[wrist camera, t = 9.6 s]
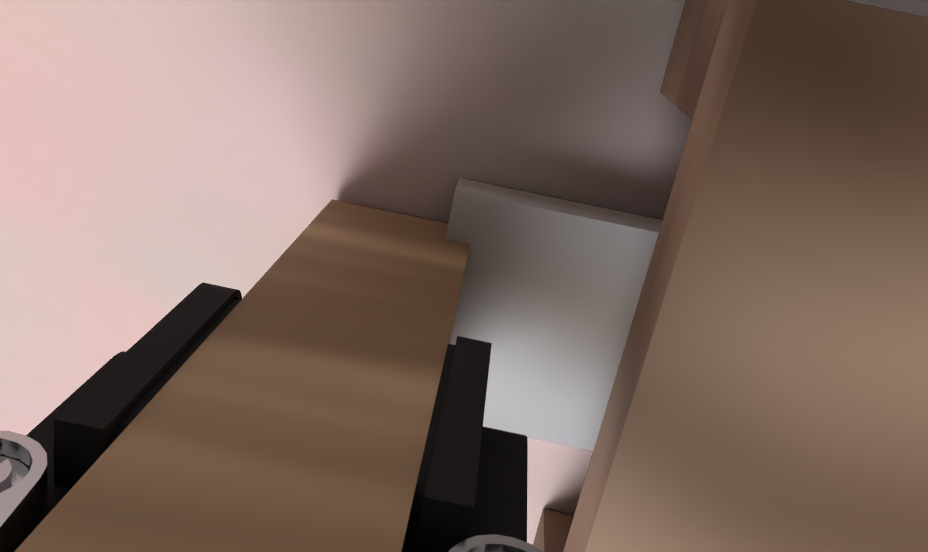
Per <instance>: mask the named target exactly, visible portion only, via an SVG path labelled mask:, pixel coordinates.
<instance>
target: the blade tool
mask: <svg viewBox="0 0 928 552" xmlns="http://www.w3.org/2000/svg"><path fill="white" fill-rule="evenodd" d="M661 223H662V220H660V219H655V218H650V217H645V216H640V215H636V214H631V213H626V212H621V211H616V210H612V209H607V208H602V207H597V206H592V205H588V204H583V203H578V202H573V201H568V200H564V199H559V198H554V197H549V196H544V195H540V194H535V193H530V192H525V191H520V190H516V189H511V188H506V187H501V186H496V185H491V184H487V183H482V182H477V181H472V180H467V179H463V178H459V180H458V182H457V185H456V188H455V191H454V196H453V202H452V207H451V212H450V217H449V222H448V224H447V223H443V222H438V221H433V220H428V219H423V218H419V217H414V216H409V215H404V214H399V213H395V212H390V211H385V210H380V209H376V208H371V207H366V206H361V205H356V204H352V203H347V202H342V201H337V200H331V201H330V202H329V203H328V205H327V206H326V207H325V208H324V209H323V210H322V211H321V212H320V213H319V214H318V216H317V217H316V218H315V219H314V220H313V221H312V222H311V223H310V224H309V226H308V227H307V228H306V229H305V230H304V231H303V232H302V233H301V234H300V236H299V237H298V238H297V239H296V240H295V241H294V242H293V243H292V244H291V246H290V247H289V248H288V249H287V250H286V251H285V252H284V253H283V254H282V256H281V257H280V258H279V259H278V260H277V261H276V262H275V263H274V264H273V265H272V267H271V268H270V269H269V270H268V271H267V272H266V273H265V274H264V275H263V277H262V278H261V279H260V280H259V281H258V282H257V283H256V284H255V285H254V287H253V288H252V289H251V290H250V291H249V292H248V293H247V294H246V295H245V297H244V298H243V299H242V300H241V301H240V302H239V303H238V304H237V305H236V307H235V308H234V309H233V310H232V311H231V312H230V313H229V314H228V315H227V317H226V318H225V319H224V320H223V321H222V322H221V323H220V324H219V325H218V326H217V328H216V329H215V330H214V331H213V332H212V333H211V334H210V335H209V336H208V338H207V339H206V340H205V341H204V342H203V343H202V344H201V345H200V346H199V348H198V349H197V350H196V351H195V352H194V353H193V354H192V355H191V356H190V358H189V359H188V360H187V361H186V362H185V363H184V364H183V365H182V366H181V368H180V369H179V370H178V371H177V372H176V373H175V374H174V375H173V376H172V377H171V379H170V380H169V381H168V382H167V383H166V384H165V385H164V386H163V387H162V389H161V390H160V391H159V392H158V393H157V394H156V395H155V396H154V397H153V399H152V400H151V401H150V402H149V403H148V404H147V405H146V406H145V407H144V409H143V410H142V411H141V412H140V413H139V414H138V415H137V416H136V417H135V419H134V420H133V421H132V422H131V423H130V424H129V425H128V426H127V427H126V429H125V430H124V431H123V432H122V433H121V434H120V435H119V436H118V437H117V438H116V440H115V441H114V442H113V443H112V444H111V445H110V446H109V447H108V448H107V450H106V451H105V452H104V453H103V454H102V455H101V456H100V457H99V458H98V460H97V461H96V462H95V463H94V464H93V465H92V466H91V467H90V468H89V470H88V471H87V472H86V473H85V474H84V475H83V476H82V477H81V478H80V480H79V481H78V482H77V483H76V484H75V485H74V486H73V487H72V488H71V489H70V491H69V492H68V493H67V494H66V495H65V496H64V497H63V498H62V499H61V501H60V502H59V503H58V504H57V505H56V506H55V507H54V508H53V509H52V511H51V512H50V513H49V514H48V515H47V516H46V517H45V518H44V519H43V521H42V522H41V523H40V524H39V525H38V526H37V527H36V528H35V529H34V531H33V532H32V533H31V534H30V535H29V536H28V537H27V538H26V539H25V541H24V542H23V543H22V544H21V545H20V546H19V547H18V548H17V549H16V550H15V552H402V550H403V545H404V540H405V535H406V531H407V526H408V521H409V516H410V511H411V506H412V502H413V497H414V492H415V488H416V483H417V479H418V474H419V470H420V465H421V461H422V456H423V452H424V448H425V443H426V439H427V434H428V430H429V425H430V421H431V417H432V412H433V408H434V403H435V399H436V394H437V390H438V386H439V381H440V377H441V372H442V368H443V363H444V359H445V354H446V350H447V346H448V344H453V345H455V344H456V339H457V336H460V337H465V338H470V339H475V340H480V341H484V342H489V343H492V346H491V355H490V364H489V373H488V382H487V392H486V401H485V410H484V419H483V427H488V428H493V429H498V430H502V431H507V432H512V433H517V434H521V435H526V436H527V437H529V438H533V439H538V440H543V441H548V442H552V443H557V444H562V445H567V446H571V447H576V448H581V449H586V450H590V451H594V447H595V444H596V441H597V437H598V434H599V431H600V427H601V424H602V421H603V417H604V414H605V411H606V407H607V404H608V400H609V397H610V394H611V390H612V387H613V384H614V380H615V377H616V374H617V370H618V367H619V364H620V360H621V357H622V354H623V350H624V347H625V344H626V340H627V337H628V334H629V330H630V327H631V324H632V320H633V317H634V314H635V310H636V307H637V304H638V300H639V297H640V294H641V290H642V287H643V284H644V280H645V277H646V274H647V270H648V267H649V264H650V260H651V257H652V254H653V250H654V247H655V244H656V240H657V237H658V233H659V230H660V227H661Z"/></svg>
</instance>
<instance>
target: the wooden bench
mask: <svg viewBox="0 0 928 552" xmlns="http://www.w3.org/2000/svg"><path fill="white" fill-rule="evenodd" d="M660 92H661V93H662V94H663V95H664V96H666V97H667V98H668V99H669V100H670V101H672V102H673V103H674V104H675V105H676V106H678V107H679V108H680V109H681V110H682V111H683V112H685V113H686V114H687V115H688V116H689V117H691V118H692V119H693V120H692V123H691V127H690V130H689V133H688V137H687V140H686V143H685V147H684V150H683V153H682V157H681V160H680V163H679V167H678V170H677V173H676V177H675V180H674V183H673V187H672V190H671V193H670V197H669V200H668V203H667V207H666V210H665V213H664V217H663V220H662V223H661V227H660V230H659V233H658V237H657V240H656V244H655V247H654V250H653V254H652V257H651V260H650V264H649V267H648V270H647V274H646V277H645V280H644V284H643V287H642V290H641V294H640V297H639V300H638V304H637V307H636V310H635V314H634V317H633V320H632V324H631V327H630V330H629V334H628V337H627V340H626V344H625V347H624V350H623V354H622V357H621V360H620V364H619V367H618V370H617V374H616V377H615V380H614V384H613V387H612V390H611V394H610V397H609V400H608V404H607V407H606V411H605V414H604V417H603V421H602V424H601V427H600V431H599V434H598V437H597V441H596V444H595V447H594V451H593V454H592V457H591V461H590V464H589V467H588V471H587V474H586V477H585V481H584V484H583V487H582V491H581V494H580V497H579V501H578V504H577V507H576V511H575V514H574V515H570V514H565V513H561V512H556V511H551V510H546V509H543V512H542V515H541V519H540V522H539V526H538V529H537V533H536V537H535V540H534V544H533V546H535V547H536V548H538V549H539V550H541V551H543V552H928V18H927V17H923V16H918V15H913V14H908V13H903V12H898V11H893V10H889V9H884V8H879V7H874V6H869V5H864V4H860V3H855V2H850V1H845V0H686V2H685V5H684V9H683V12H682V16H681V19H680V23H679V27H678V30H677V34H676V37H675V41H674V44H673V48H672V52H671V55H670V59H669V62H668V66H667V69H666V73H665V76H664V80H663V84H662V87H661V91H660Z"/></svg>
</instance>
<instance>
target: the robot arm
mask: <svg viewBox="0 0 928 552" xmlns="http://www.w3.org/2000/svg"><path fill="white" fill-rule="evenodd" d="M241 300H242V296H241V292H240V290H236V289H231V288H226V287H221V286H217V285H212V284H207V283H201V284H200V285H199V286H197V287H196V288H195V289H194V290H193V291H192V292H191V293H190V294H189V295H188V296H187V297H186V298H184V299H183V300H182V301H181V302H180V303H179V304H178V305H177V306H176V307H175V308H174V309H173V310H171V311H170V312H169V313H168V314H167V315H166V316H165V317H164V318H163V319H162V320H161V321H159V322H158V323H157V324H156V325H155V326H154V327H153V328H152V329H151V330H150V331H149V332H148V333H146V334H145V335H144V336H143V337H142V338H141V339H140V340H139V341H138V342H137V343H136V344H134V345H133V346H132V347H131V348H130V349H129V350H128V351H127V352H120V353H118V354H117V355H115V356H114V357H113V358H112V359H110V360H109V361H108V362H107V363H106V364H105V365H104V366H103V367H102V368H101V369H99V370H98V371H97V372H96V373H95V374H94V375H93V376H92V377H91V378H89V379H88V380H87V381H86V382H85V383H84V384H83V385H82V386H81V387H79V388H78V389H77V390H76V391H75V392H74V393H73V394H72V395H71V396H70V397H68V398H67V399H66V400H65V401H64V402H63V403H62V404H61V405H60V406H58V407H57V408H56V409H55V410H54V411H53V412H52V413H51V414H50V415H48V416H47V417H46V418H45V419H44V420H43V421H42V422H41V423H40V424H39V425H37V426H36V427H35V428H34V429H33V430H32V431H31V432H30V433H29V434H27V435H22V434H18V433H14V432H10V431H0V552H15V550H16V549H17V548H18V547H19V546H20V545H21V544H22V543H23V542H24V541H25V539H26V538H27V537H28V536H29V535H30V534H31V533H32V532H33V531H34V529H35V528H36V527H37V526H38V525H39V524H40V523H41V522H42V521H43V519H44V518H45V517H46V516H47V515H48V514H49V513H50V512H51V511H52V509H53V508H54V507H55V506H56V505H57V504H58V503H59V502H60V501H61V499H62V498H63V497H64V496H65V495H66V494H67V493H68V492H69V491H70V489H71V488H72V487H73V486H74V485H75V484H76V483H77V482H78V481H79V480H80V478H81V477H82V476H83V475H84V474H85V473H86V472H87V471H88V470H89V468H90V467H91V466H92V465H93V464H94V463H95V462H96V461H97V460H98V458H99V457H100V456H101V455H102V454H103V453H104V452H105V451H106V450H107V448H108V447H109V446H110V445H111V444H112V443H113V442H114V441H115V440H116V438H117V437H118V436H119V435H120V434H121V433H122V432H123V431H124V430H125V429H126V427H127V426H128V425H129V424H130V423H131V422H132V421H133V420H134V419H135V417H136V416H137V415H138V414H139V413H140V412H141V411H142V410H143V409H144V407H145V406H146V405H147V404H148V403H149V402H150V401H151V400H152V399H153V397H154V396H155V395H156V394H157V393H158V392H159V391H160V390H161V389H162V387H163V386H164V385H165V384H166V383H167V382H168V381H169V380H170V379H171V377H172V376H173V375H174V374H175V373H176V372H177V371H178V370H179V369H180V368H181V366H182V365H183V364H184V363H185V362H186V361H187V360H188V359H189V358H190V356H191V355H192V354H193V353H194V352H195V351H196V350H197V349H198V348H199V346H200V345H201V344H202V343H203V342H204V341H205V340H206V339H207V338H208V336H209V335H210V334H211V333H212V332H213V331H214V330H215V329H216V328H217V326H218V325H219V324H220V323H221V322H222V321H223V320H224V319H225V318H226V317H227V315H228V314H229V313H230V312H231V311H232V310H233V309H234V308H235V307H236V305H237V304H238V303H239V302H240V301H241ZM491 346H492V343H489V342H484V341H480V340H475V339H470V338H465V337H460V336H457V339H456V344H455V345H453V344H448V346H447V350H446V354H445V359H444V363H443V368H442V372H441V377H440V381H439V386H438V390H437V394H436V399H435V403H434V408H433V412H432V417H431V421H430V425H429V430H428V434H427V439H426V443H425V448H424V452H423V456H422V461H421V465H420V470H419V474H418V479H417V483H416V488H415V492H414V497H413V502H412V506H411V511H410V516H409V521H408V526H407V531H406V535H405V540H404V545H403V550H402V552H543V551H541V550H539V549H538V548H536V547H535V546H533V545H532V544H529V543H527V436H526V435H521V434H517V433H512V432H507V431H502V430H498V429H493V428H488V427H483V419H484V410H485V401H486V392H487V382H488V373H489V364H490V355H491Z"/></svg>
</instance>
